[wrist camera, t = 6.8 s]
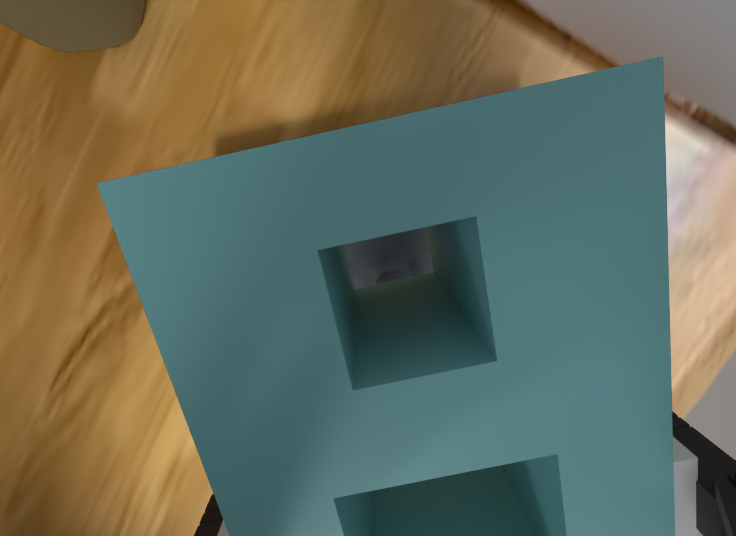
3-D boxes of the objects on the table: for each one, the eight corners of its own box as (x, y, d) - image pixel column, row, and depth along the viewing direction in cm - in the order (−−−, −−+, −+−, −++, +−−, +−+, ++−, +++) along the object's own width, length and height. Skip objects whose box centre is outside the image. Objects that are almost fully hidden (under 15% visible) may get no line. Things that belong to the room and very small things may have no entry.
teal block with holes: (562, 562, 18) (681, 792, 12) (351, 602, 19) (347, 849, 12) (509, 112, 14) (662, 56, 7) (224, 175, 14) (96, 183, 7)
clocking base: (544, 378, 34) (600, 441, 26) (292, 429, 34) (272, 505, 26) (515, 106, 28) (574, 84, 20) (215, 172, 29) (163, 174, 21)
